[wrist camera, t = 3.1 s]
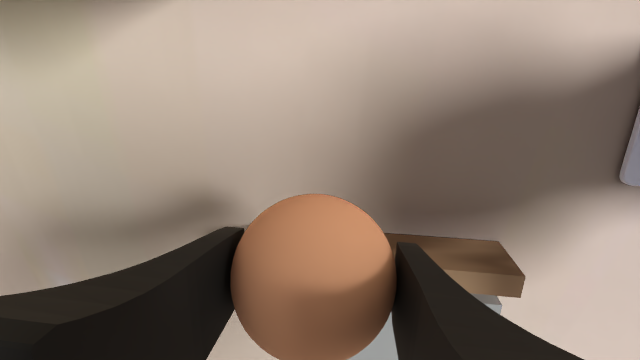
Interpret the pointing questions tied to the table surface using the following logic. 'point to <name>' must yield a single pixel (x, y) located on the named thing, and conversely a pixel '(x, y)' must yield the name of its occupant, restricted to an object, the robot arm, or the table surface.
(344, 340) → the ball
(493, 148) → the table surface
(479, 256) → the rail
